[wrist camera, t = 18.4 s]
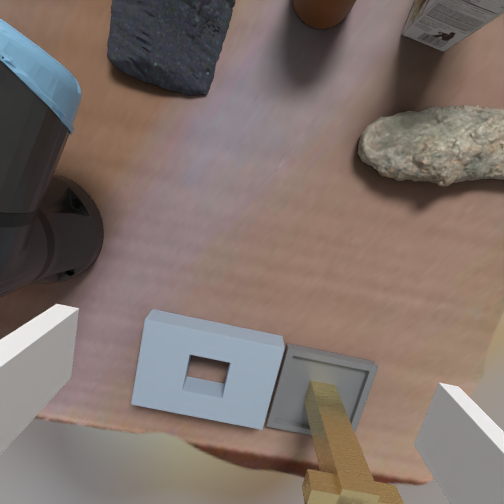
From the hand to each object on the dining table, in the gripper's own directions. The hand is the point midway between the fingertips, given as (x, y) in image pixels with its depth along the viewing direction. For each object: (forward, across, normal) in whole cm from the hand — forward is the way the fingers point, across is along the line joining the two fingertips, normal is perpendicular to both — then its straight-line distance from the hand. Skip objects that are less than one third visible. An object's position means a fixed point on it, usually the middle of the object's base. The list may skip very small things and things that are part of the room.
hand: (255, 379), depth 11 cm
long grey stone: (+35, +28, +18) cm, 48 cm away
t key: (+34, +16, -23) cm, 44 cm away
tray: (+35, +16, -23) cm, 45 cm away
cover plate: (+35, -2, -22) cm, 41 cm away
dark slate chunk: (+35, -16, +26) cm, 47 cm away
